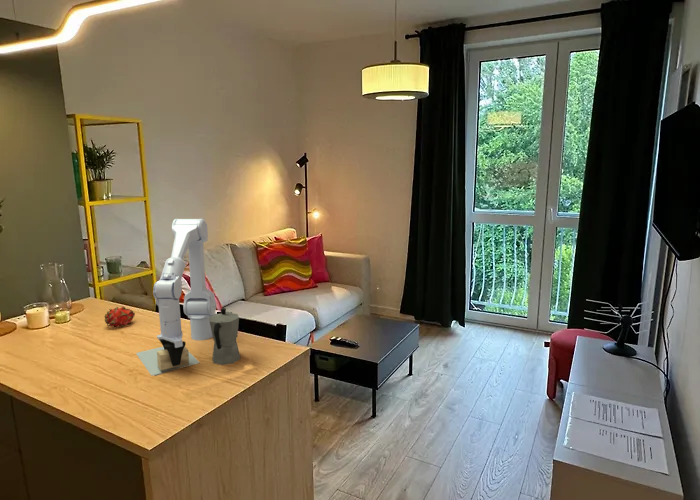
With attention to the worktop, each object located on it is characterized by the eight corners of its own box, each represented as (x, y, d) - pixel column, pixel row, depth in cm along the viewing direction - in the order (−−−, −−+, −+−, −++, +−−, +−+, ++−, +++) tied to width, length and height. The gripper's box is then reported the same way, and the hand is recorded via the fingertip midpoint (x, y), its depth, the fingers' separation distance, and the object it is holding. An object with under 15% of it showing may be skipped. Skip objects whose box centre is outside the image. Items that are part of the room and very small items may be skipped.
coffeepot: (217, 354, 149) (214, 301, 145) (246, 354, 149) (243, 301, 145) (202, 376, 133) (198, 318, 130) (234, 376, 133) (230, 317, 130)
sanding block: (185, 361, 140) (184, 345, 139) (188, 365, 137) (188, 350, 136) (157, 366, 135) (157, 351, 135) (161, 371, 132) (160, 355, 131)
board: (180, 346, 155) (179, 342, 155) (200, 367, 139) (199, 362, 139) (136, 357, 147) (135, 353, 146) (152, 380, 131) (151, 375, 131)
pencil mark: (167, 372, 133) (167, 373, 133) (166, 374, 133) (167, 375, 133) (154, 374, 131) (154, 375, 131) (154, 377, 131) (154, 378, 131)
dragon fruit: (102, 334, 171) (133, 329, 180) (112, 325, 166) (143, 320, 176) (96, 314, 173) (127, 310, 183) (106, 304, 169) (137, 301, 179)
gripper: (149, 315, 137) (153, 357, 139) (162, 329, 125) (166, 374, 128) (173, 310, 141) (177, 351, 144) (188, 323, 130) (192, 368, 132)
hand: (174, 362), depth 136 cm, fingers closed on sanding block, 4 cm apart
